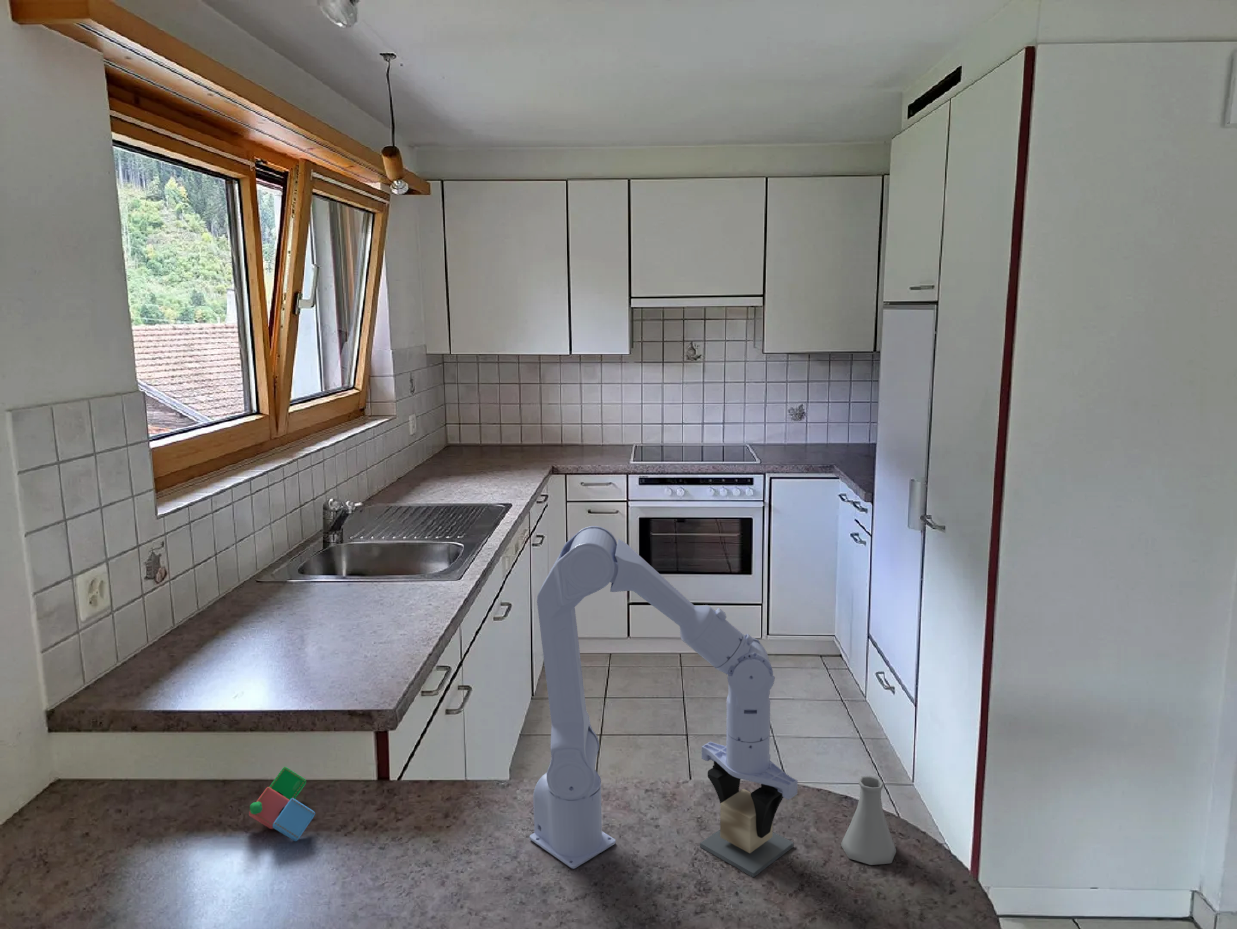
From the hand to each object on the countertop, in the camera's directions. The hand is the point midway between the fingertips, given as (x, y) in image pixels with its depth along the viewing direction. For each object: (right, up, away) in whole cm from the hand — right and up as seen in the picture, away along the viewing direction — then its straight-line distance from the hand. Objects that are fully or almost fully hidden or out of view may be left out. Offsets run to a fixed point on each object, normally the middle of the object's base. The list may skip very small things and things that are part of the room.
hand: (747, 825), depth 113 cm
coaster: (0, -3, +1) cm, 3 cm away
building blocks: (-65, -3, +8) cm, 65 cm away
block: (0, -2, 0) cm, 2 cm away
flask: (+16, -3, 0) cm, 17 cm away
